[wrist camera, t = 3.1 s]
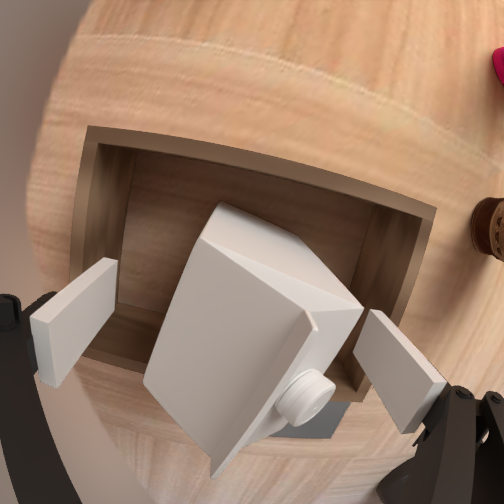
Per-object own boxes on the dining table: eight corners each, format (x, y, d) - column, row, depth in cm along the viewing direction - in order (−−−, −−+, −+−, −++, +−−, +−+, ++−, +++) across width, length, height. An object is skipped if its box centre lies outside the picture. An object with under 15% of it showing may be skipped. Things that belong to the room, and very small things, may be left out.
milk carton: (187, 274, 26) (116, 448, 8) (219, 199, 25) (176, 272, 7) (261, 305, 28) (297, 493, 9) (296, 234, 26) (414, 362, 8)
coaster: (328, 434, 33) (330, 438, 32) (242, 428, 31) (242, 433, 31) (363, 366, 30) (366, 370, 29) (265, 356, 29) (266, 360, 28)
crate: (335, 352, 29) (362, 402, 22) (107, 309, 27) (71, 352, 19) (385, 196, 26) (436, 207, 18) (129, 137, 23) (87, 125, 15)
